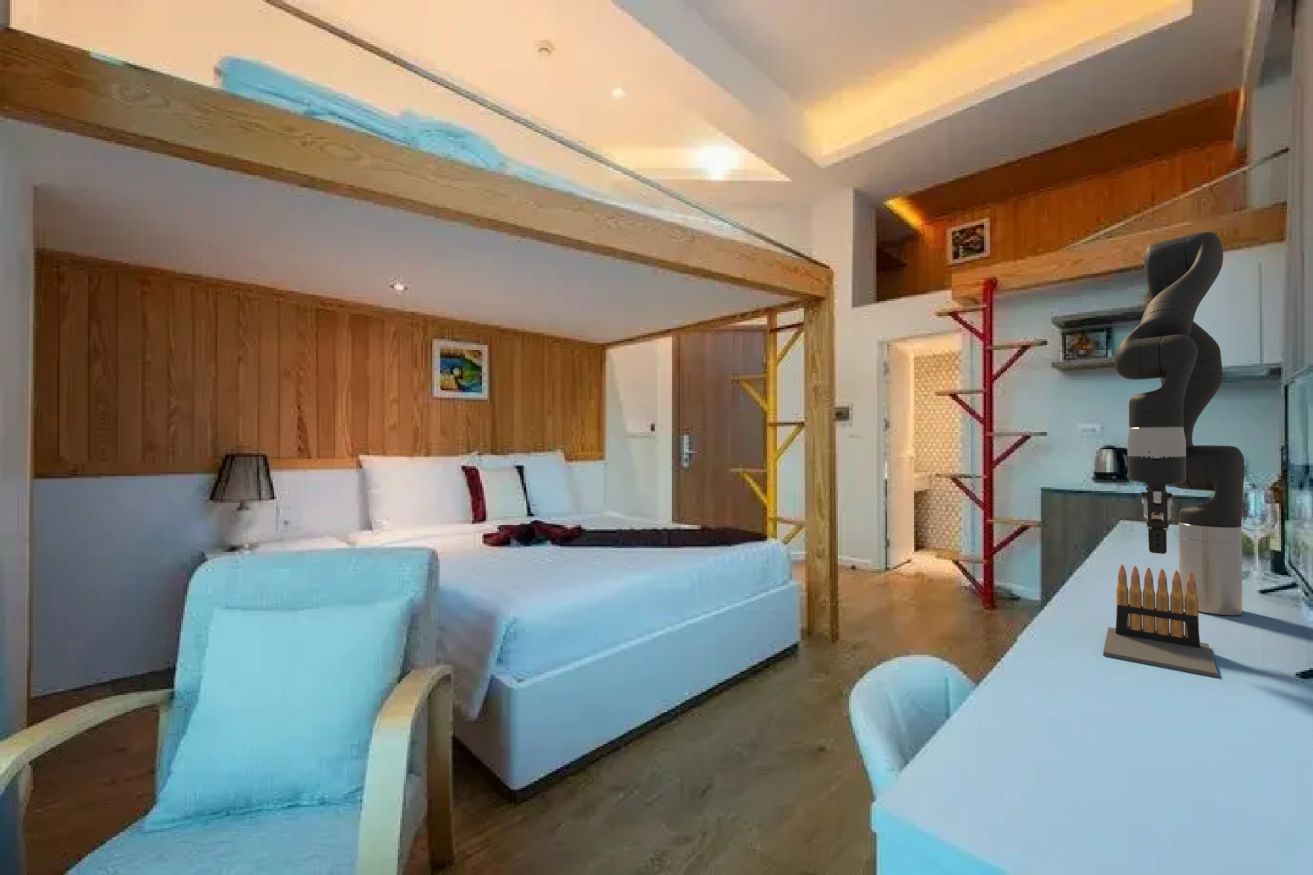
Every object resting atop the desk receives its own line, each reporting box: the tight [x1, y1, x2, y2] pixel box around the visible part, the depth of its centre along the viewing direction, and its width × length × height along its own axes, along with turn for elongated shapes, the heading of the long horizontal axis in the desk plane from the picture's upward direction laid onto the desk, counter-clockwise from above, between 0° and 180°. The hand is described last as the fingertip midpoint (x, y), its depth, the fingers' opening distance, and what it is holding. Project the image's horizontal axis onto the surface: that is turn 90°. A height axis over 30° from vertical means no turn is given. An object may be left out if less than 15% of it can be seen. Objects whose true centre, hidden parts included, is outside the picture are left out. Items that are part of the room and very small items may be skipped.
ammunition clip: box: [1115, 564, 1201, 648], centre depth 97 cm, size 11×2×12 cm, turn 49°
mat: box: [1102, 626, 1219, 678], centre depth 93 cm, size 16×13×1 cm
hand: (1157, 548), depth 98 cm, fingers open, 8 cm apart
